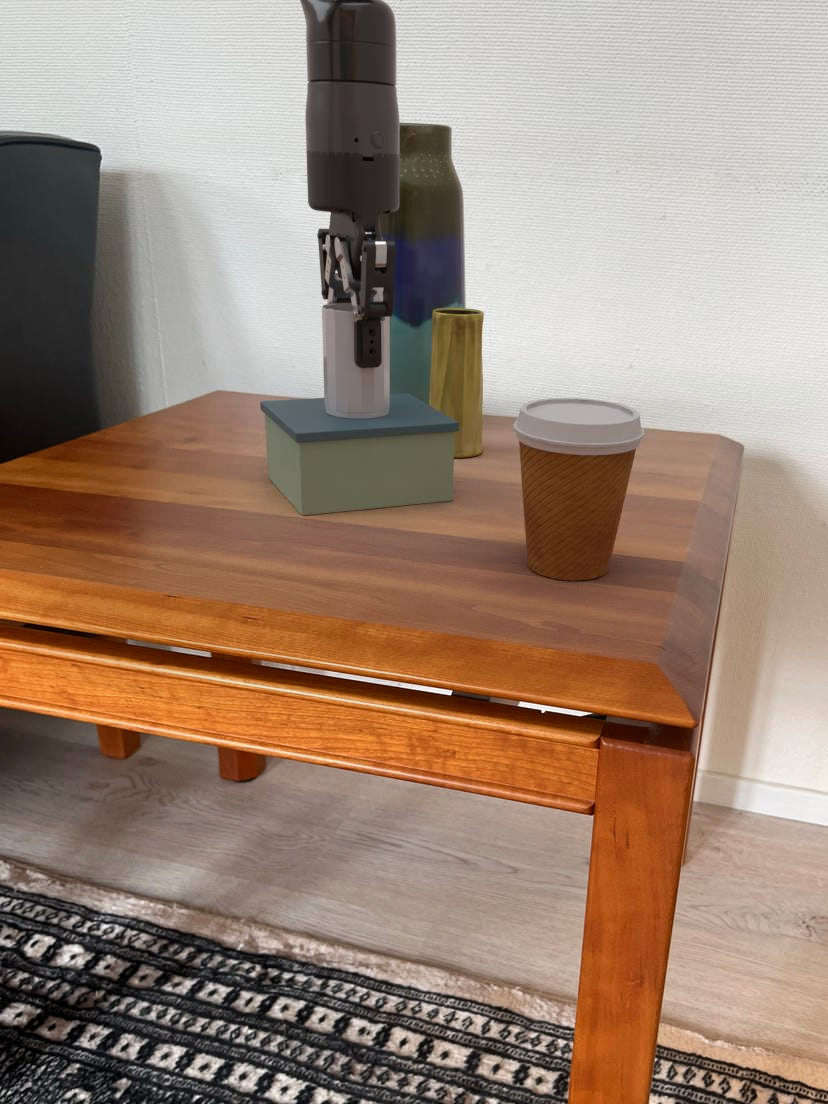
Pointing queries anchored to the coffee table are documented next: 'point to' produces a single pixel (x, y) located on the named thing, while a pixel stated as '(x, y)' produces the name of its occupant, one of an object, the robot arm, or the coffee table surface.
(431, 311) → the vase
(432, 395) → the vase
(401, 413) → the container
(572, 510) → the disposable coffee cup
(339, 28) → the robot arm
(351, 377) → the cup
